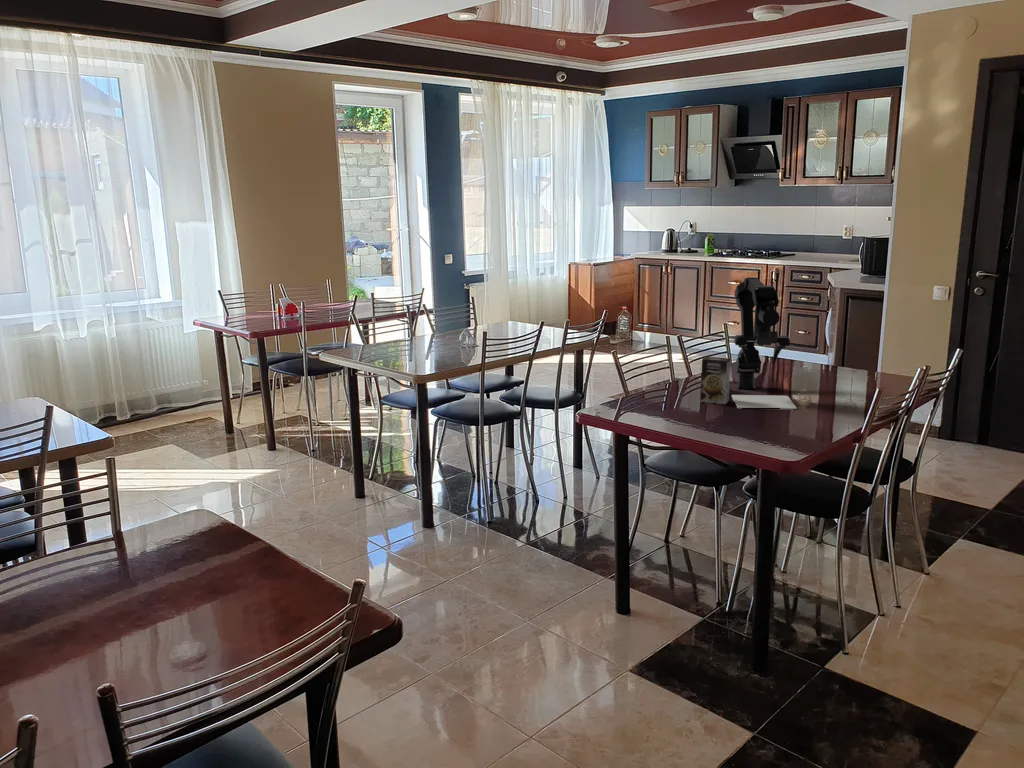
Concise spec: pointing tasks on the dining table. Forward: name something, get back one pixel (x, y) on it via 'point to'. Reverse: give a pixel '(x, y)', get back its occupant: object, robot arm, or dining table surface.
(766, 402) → the mat
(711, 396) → the cookie box
